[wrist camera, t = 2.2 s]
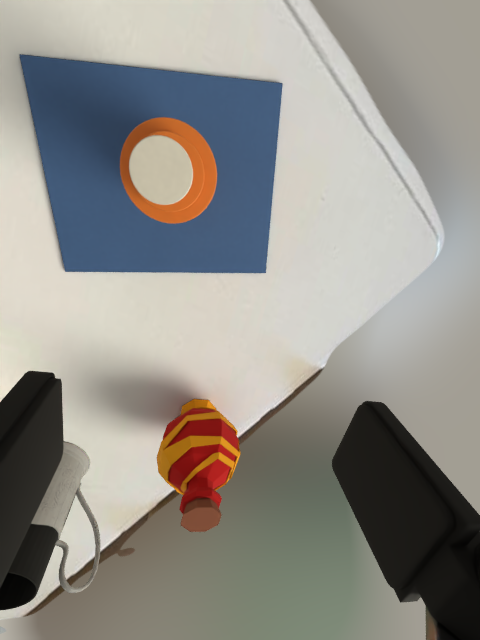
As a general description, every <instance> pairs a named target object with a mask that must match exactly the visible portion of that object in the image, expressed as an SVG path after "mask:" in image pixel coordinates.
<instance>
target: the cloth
mask: <svg viewBox="0 0 480 640" xmlns="http://www.w3.org/2000/svg"><path fill="white" fill-rule="evenodd" d="M20 60H21V64H22V69H23V74H24V79H25V83H26V88H27V93H28V98H29V102H30V107H31V112H32V116H33V121H34V126H35V131H36V135H37V140H38V145H39V150H40V154H41V159H42V164H43V168H44V173H45V178H46V183H47V187H48V192H49V197H50V202H51V206H52V211H53V216H54V221H55V225H56V230H57V235H58V239H59V244H60V249H61V254H62V258H63V263H64V268H65V272H191V273H266V262H267V251H268V240H269V228H270V217H271V206H272V195H273V183H274V172H275V161H276V150H277V139H278V127H279V116H280V105H281V94H282V83H274V82H265V81H256V80H247V79H238V78H229V77H220V76H211V75H202V74H193V73H184V72H175V71H166V70H157V69H148V68H139V67H129V66H120V65H111V64H102V63H93V62H84V61H75V60H66V59H57V58H48V57H39V56H30V55H21V54H20ZM159 117H167V118H174V119H178V120H180V121H183V122H185V123H187V124H188V125H190V126H191V127H193V128H194V129H195V130H197V131H198V132H199V133H200V134H201V135H202V137H203V138H204V139H205V140H206V142H207V144H208V145H209V147H210V149H211V151H212V153H213V156H214V159H215V163H216V167H217V184H216V189H215V193H214V195H213V198H212V200H211V202H210V203H209V205H208V206H207V208H206V209H205V210H204V211H203V212H202V213H201V214H200V215H198V216H197V217H195V218H194V219H192V220H189V221H187V222H183V223H176V224H173V223H164V222H160V221H157V220H155V219H153V218H151V217H149V216H147V215H146V214H144V213H143V212H142V211H141V210H139V209H138V208H137V207H136V206H135V204H134V203H133V202H132V201H131V199H130V197H129V196H128V194H127V192H126V190H125V188H124V185H123V182H122V179H121V174H120V156H121V151H122V148H123V145H124V143H125V141H126V139H127V137H128V136H129V134H130V133H131V132H132V131H133V130H134V129H135V128H136V127H137V126H138V125H140V124H141V123H143V122H145V121H147V120H150V119H153V118H159Z"/></svg>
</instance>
